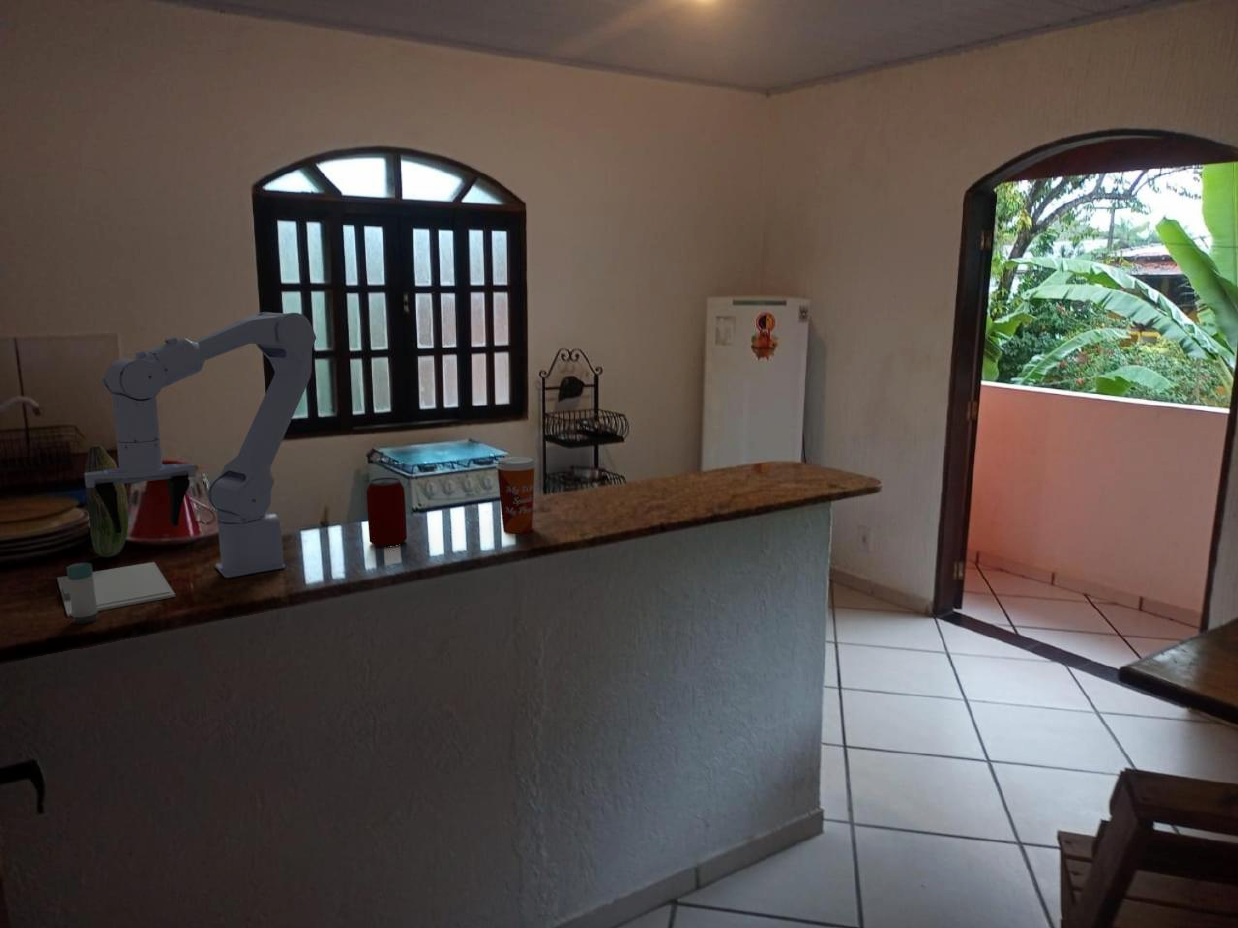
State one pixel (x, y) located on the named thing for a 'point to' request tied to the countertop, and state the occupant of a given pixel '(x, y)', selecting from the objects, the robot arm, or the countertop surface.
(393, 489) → the beverage can
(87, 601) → the white cylinder
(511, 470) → the paper cup
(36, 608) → the countertop surface
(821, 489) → the countertop surface
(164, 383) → the robot arm
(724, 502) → the countertop surface
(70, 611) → the clipboard
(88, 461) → the vegetable
